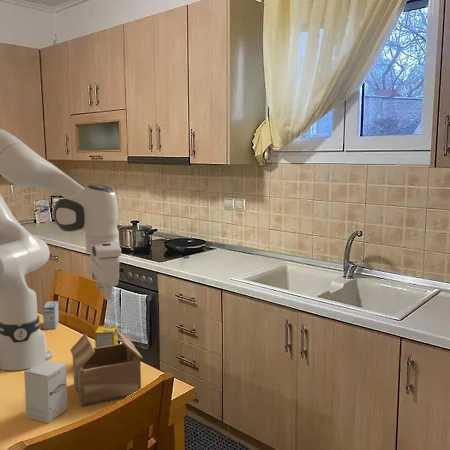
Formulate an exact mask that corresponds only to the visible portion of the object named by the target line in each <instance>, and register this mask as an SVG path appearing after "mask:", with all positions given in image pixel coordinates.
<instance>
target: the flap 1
mask: <svg viewBox="0 0 450 450" xmlns="http://www.w3.org/2000/svg"><path fill="white" fill-rule="evenodd" d="M93 348H94V346H93V345H92V342H91V340H90V339H89V337H88V335H87V334H86V333H83V335H82V336H81V337H80V339H79V340H78V341H77V342H76V343H75V344H74V345H73V346H72V348H70V353H71V356H72V359H73V358H74V361H75V363H76V366H77V369H78V370H80V369H81V368H82V367H83V365H84V364H85V363H86V362H87V361H88V360H89V359H90V358H91V356H92V355H93V354H94V353H95V351H94V349H93Z"/></svg>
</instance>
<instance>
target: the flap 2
mask: <svg viewBox="0 0 450 450" xmlns="http://www.w3.org/2000/svg"><path fill="white" fill-rule="evenodd" d="M115 332H116V333H117V337H118V338H119V339H120V340H121V342H122V343H123V344H124V345H125V347H126V348H128V349H129V350H130V351H131V352H133V353H134V354H135V355H137V356H138V358H139V359H143V356H142V355H141V354H140V352H139V351H138V349H137V348H136V347H135V345H134V344H133V342H132V341H131V339H129V338H127V336H126V335H124V334H123V333H121V332H120V331H119V330H118V329H117V330H116V329H115Z"/></svg>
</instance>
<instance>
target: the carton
mask: <svg viewBox="0 0 450 450" xmlns="http://www.w3.org/2000/svg"><path fill="white" fill-rule="evenodd" d="M93 349H94V351H95V353H94V354H93V355H92V356H91V358H90V359H89V360H88V361H87V362H86V363H85V364H84V365H83V367H82V368H81V369H80V370H78V369H77V366H76V363H75V361H74V358H73V357H72V363H73V364H72V365H73V366H72V368H73V385H74V388H75V392H76V394H77V396H78V399H79V402H80V403H79V404H80V405H81V407H82V408H84V407H89V406H93V405H98V404H102V403H103V404H104V403H108V402H111V401H117V400H122V399H126V398H125V397H127V396H129V395H131V394H133V393H134V392H136V391H138V390H139V389H141V390H142V380H141V379H142V378H141V377H142V376H141V375H142V373H141V360H140V358H139V357H138V356H137V355H135V354H134V353H133V352H131V351H130V350H129V349H128V348H126V347H125V345H124V344H123V342H122V343H118V344H115V345H109V346H102V347H96V348H95V347H93ZM127 398H128V397H127Z"/></svg>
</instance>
